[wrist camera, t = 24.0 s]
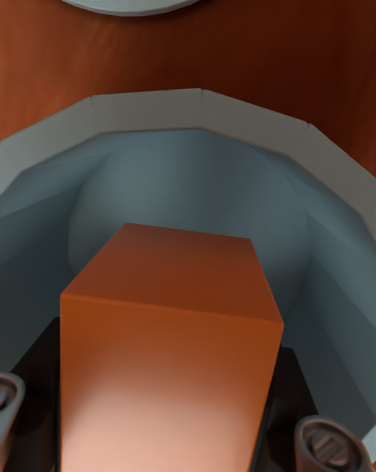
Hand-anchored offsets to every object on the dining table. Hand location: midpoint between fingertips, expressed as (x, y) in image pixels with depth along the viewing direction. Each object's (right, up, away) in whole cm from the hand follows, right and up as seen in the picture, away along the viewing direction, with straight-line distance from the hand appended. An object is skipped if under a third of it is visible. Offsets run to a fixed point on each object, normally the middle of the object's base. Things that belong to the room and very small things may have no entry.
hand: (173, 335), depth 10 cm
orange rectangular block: (0, 0, +1) cm, 1 cm away
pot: (0, +2, +7) cm, 7 cm away
